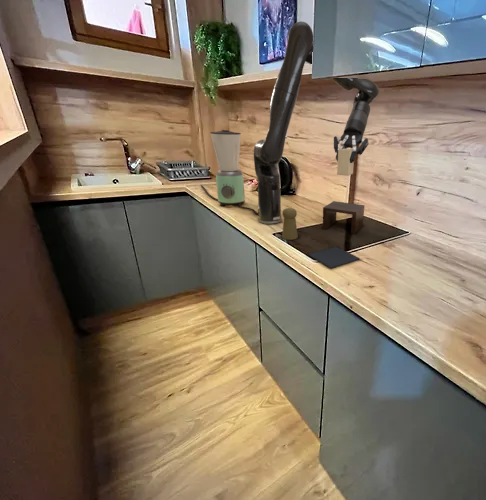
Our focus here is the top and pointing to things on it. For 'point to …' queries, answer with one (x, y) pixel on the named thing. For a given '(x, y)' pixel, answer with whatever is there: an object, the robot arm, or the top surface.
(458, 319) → the top surface
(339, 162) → the block
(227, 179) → the green blender
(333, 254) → the mat
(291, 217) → the olive pepper mill
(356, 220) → the shelf
